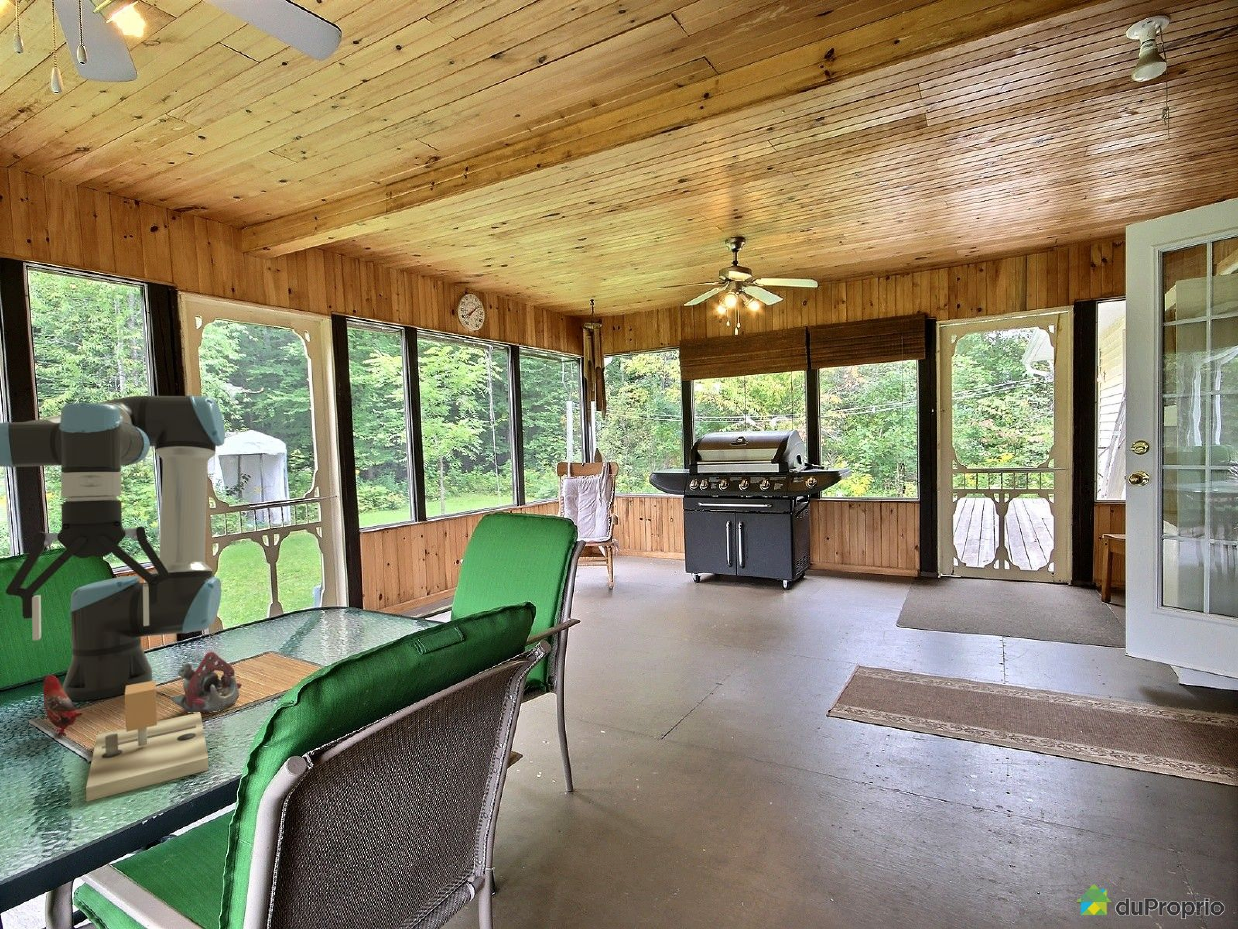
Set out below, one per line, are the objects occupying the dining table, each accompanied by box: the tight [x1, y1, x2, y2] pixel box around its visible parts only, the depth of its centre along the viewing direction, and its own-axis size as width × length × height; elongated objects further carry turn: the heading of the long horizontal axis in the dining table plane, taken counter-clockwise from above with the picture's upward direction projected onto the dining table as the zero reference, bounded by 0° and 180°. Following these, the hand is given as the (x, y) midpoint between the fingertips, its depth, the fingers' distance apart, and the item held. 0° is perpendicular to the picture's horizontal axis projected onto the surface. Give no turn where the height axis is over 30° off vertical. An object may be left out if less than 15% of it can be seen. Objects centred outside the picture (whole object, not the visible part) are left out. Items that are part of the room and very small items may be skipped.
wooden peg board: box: [85, 713, 209, 802], centre depth 107 cm, size 22×15×5 cm
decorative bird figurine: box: [42, 674, 83, 736], centre depth 115 cm, size 3×18×10 cm, turn 57°
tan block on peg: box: [124, 679, 158, 746], centre depth 106 cm, size 5×4×10 cm
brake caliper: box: [170, 650, 242, 713], centre depth 128 cm, size 11×11×12 cm
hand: (93, 631), depth 103 cm, fingers open, 13 cm apart
